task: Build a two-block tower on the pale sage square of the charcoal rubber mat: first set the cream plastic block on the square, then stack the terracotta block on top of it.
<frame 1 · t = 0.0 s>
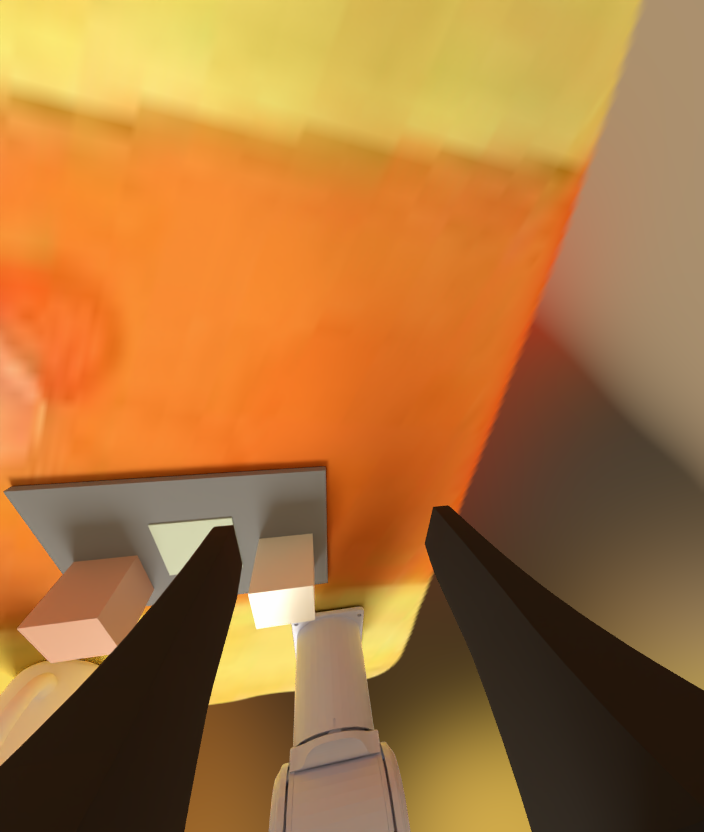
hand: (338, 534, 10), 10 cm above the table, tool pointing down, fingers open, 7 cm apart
mug: (68, 665, 27), on the table
terracotta block: (116, 576, 22), resting on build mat
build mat: (202, 541, 22), on the table
cream block: (288, 553, 24), resting on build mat
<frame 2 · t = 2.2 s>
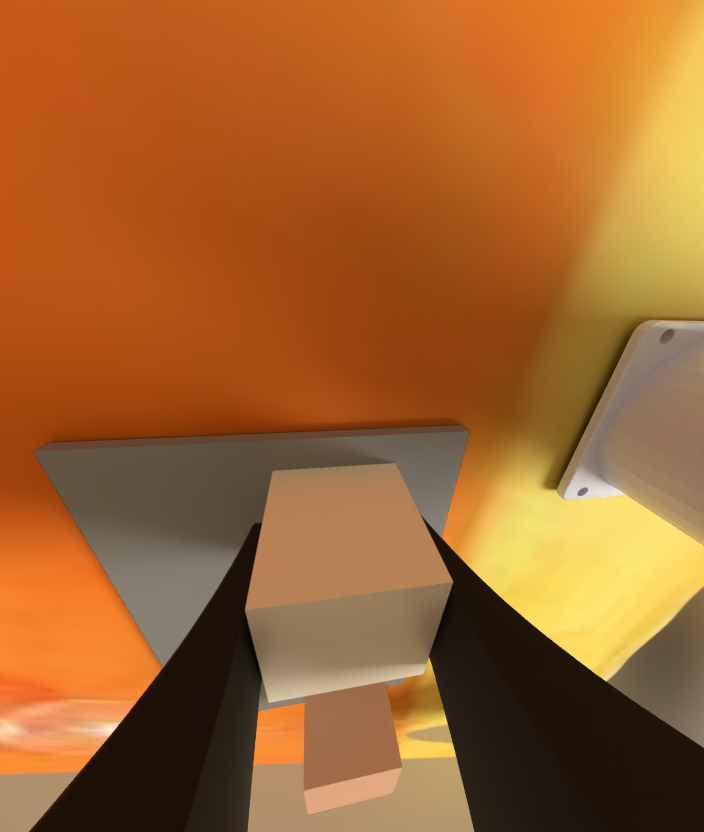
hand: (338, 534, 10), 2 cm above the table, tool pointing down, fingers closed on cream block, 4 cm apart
terracotta block: (342, 671, 17), resting on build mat
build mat: (296, 605, 14), on the table
cream block: (335, 511, 11), resting on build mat, touching gripper
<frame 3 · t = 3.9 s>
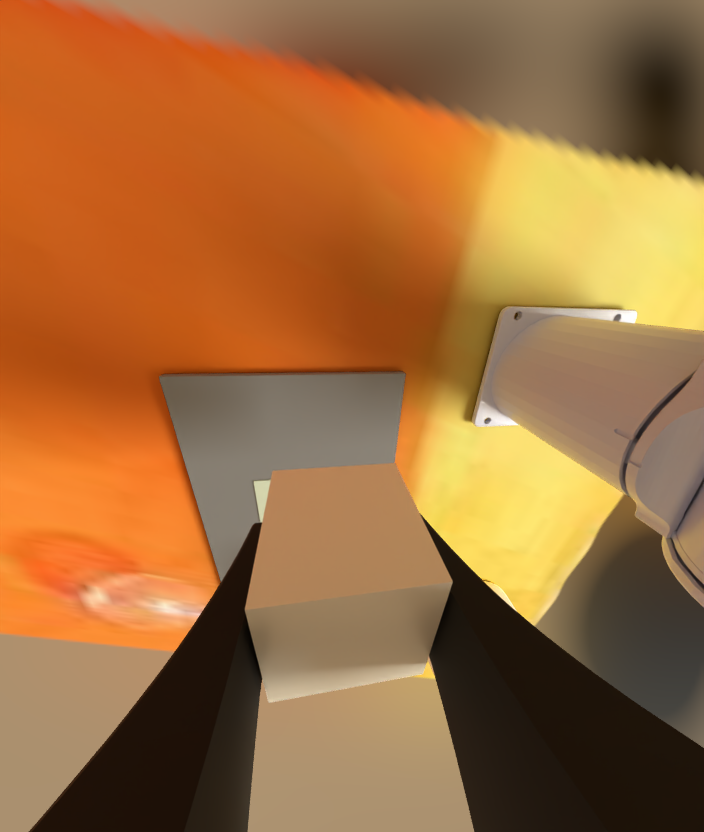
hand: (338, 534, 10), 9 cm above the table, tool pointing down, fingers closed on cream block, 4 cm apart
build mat: (300, 504, 20), on the table
cream block: (335, 511, 11), point 8 cm above the table, touching gripper
when the fingers open (3 cm above the table, at t = 6.1 s): cream block drops 1 cm, resting on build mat.
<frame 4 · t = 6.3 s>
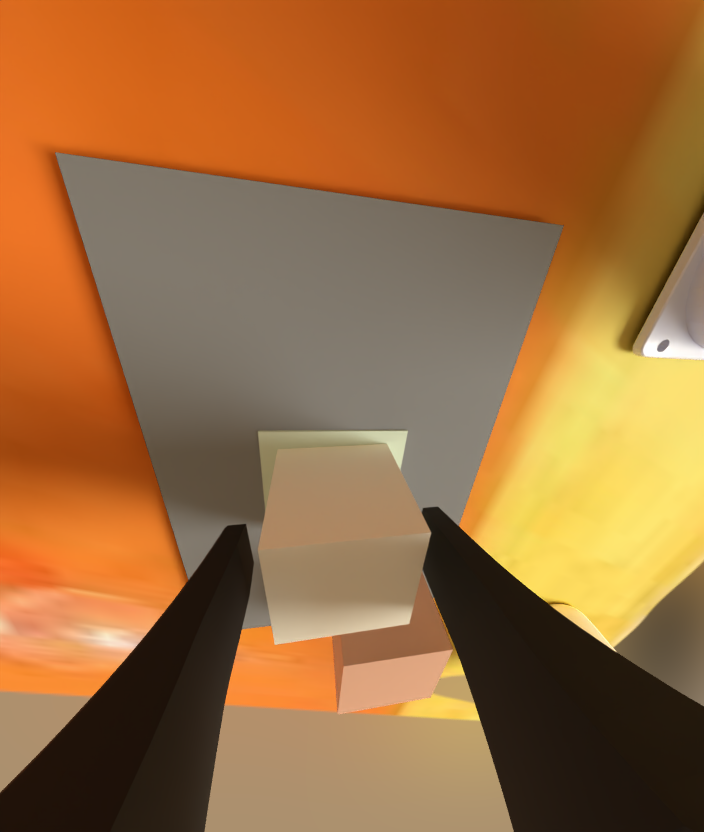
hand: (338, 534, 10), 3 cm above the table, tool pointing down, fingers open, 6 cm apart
mug: (516, 624, 22), on the table
terracotta block: (370, 579, 15), resting on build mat
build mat: (332, 480, 12), on the table
cream block: (333, 488, 12), point 1 cm above the table, touching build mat
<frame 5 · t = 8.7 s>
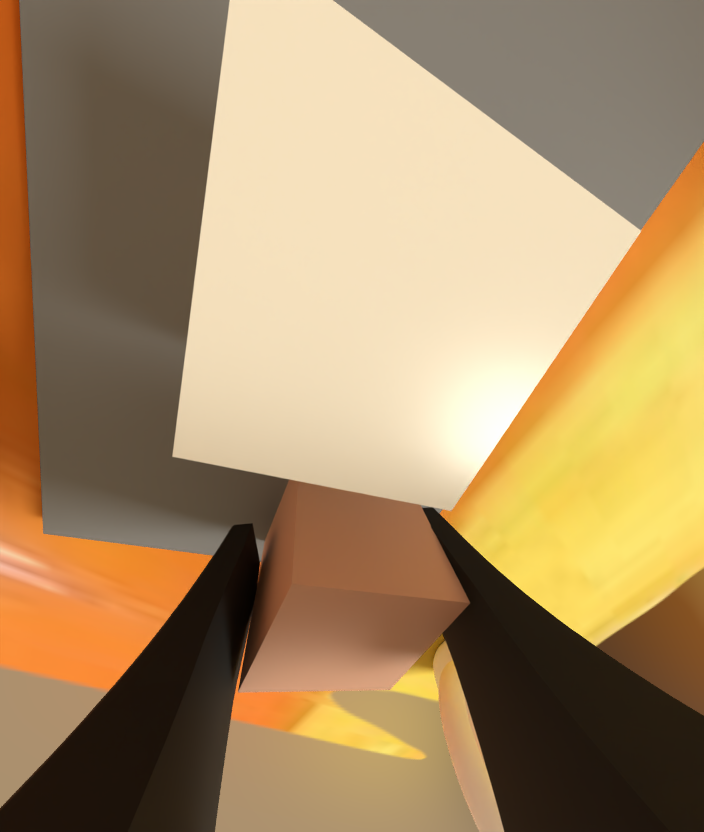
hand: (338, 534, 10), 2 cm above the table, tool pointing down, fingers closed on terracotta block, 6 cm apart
mug: (467, 635, 19), on the table
terracotta block: (335, 511, 11), resting on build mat, touching gripper
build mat: (342, 314, 8), on the table
cream block: (346, 315, 7), point 1 cm above the table, touching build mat
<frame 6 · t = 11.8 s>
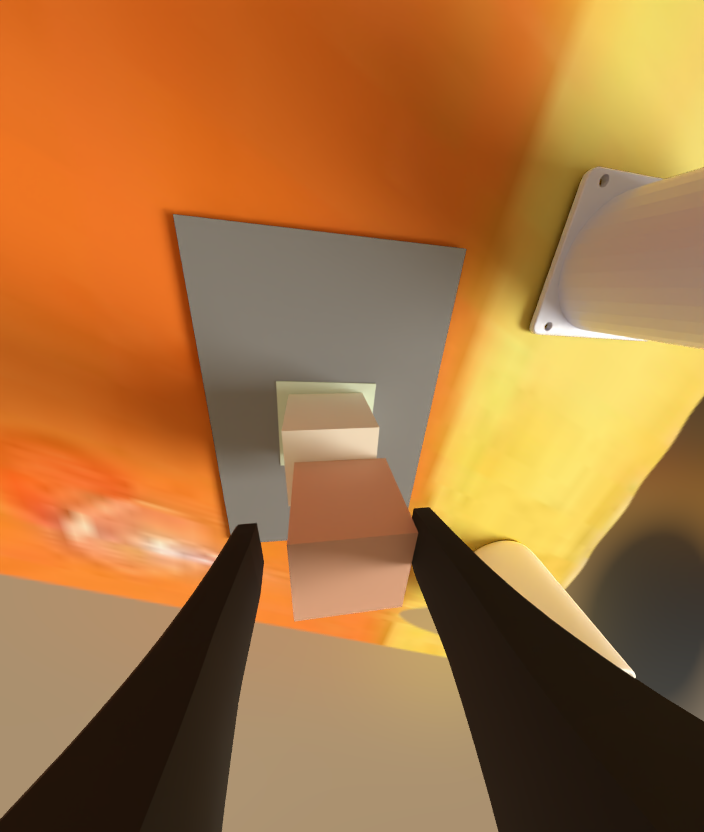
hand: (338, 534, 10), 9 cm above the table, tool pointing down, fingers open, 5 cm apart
mug: (477, 560, 28), on the table
terracotta block: (339, 495, 14), point 5 cm above the table, touching cream block
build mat: (325, 422, 18), on the table
cream block: (326, 426, 17), point 1 cm above the table, touching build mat, terracotta block
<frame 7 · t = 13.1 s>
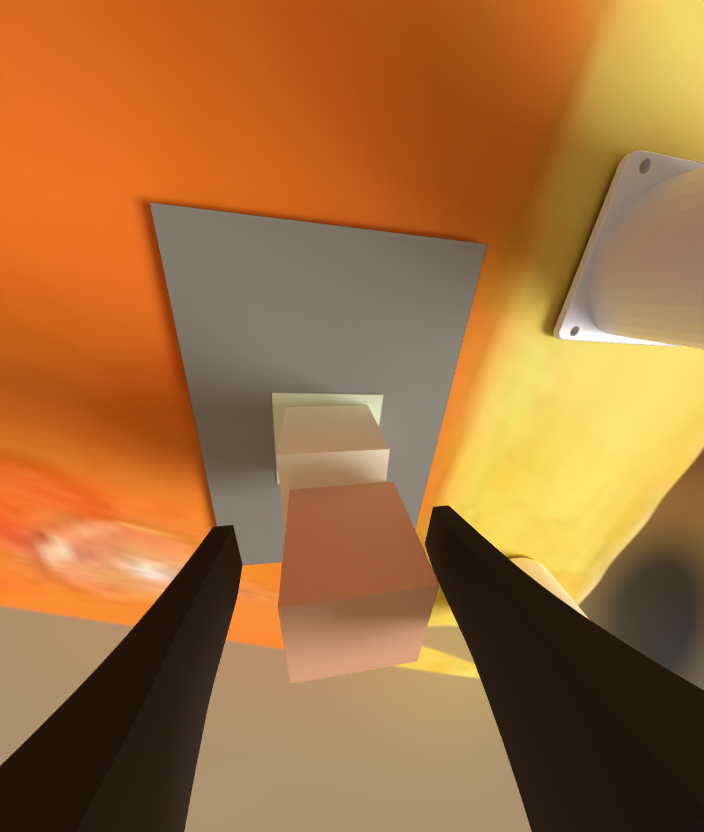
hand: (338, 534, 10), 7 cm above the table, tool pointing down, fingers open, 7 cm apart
mug: (487, 577, 26), on the table
terracotta block: (342, 523, 12), point 5 cm above the table, touching cream block
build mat: (326, 436, 16), on the table
cream block: (328, 441, 15), point 1 cm above the table, touching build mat, terracotta block
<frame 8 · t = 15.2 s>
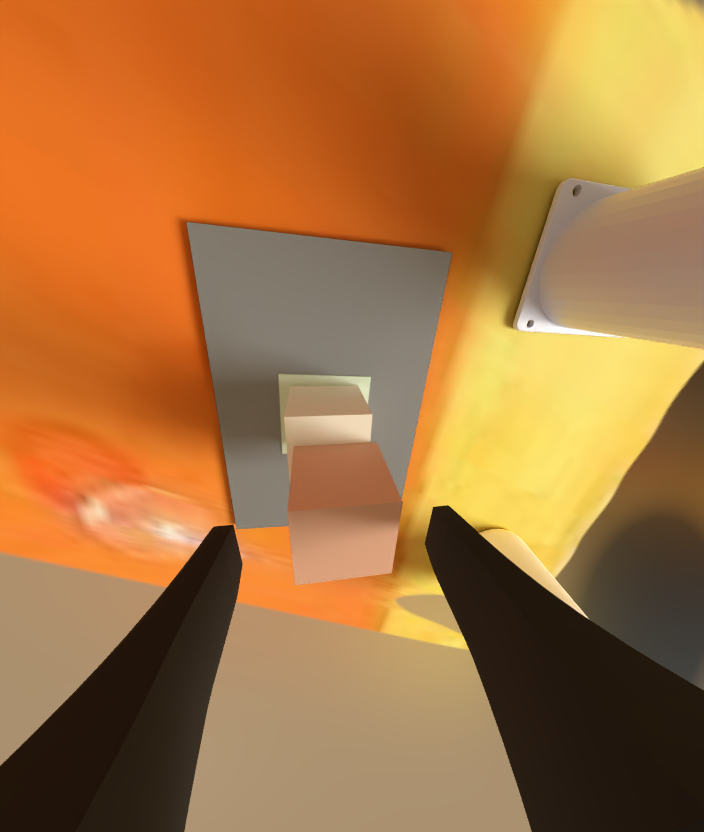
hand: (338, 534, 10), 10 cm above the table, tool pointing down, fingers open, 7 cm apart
mug: (469, 548, 29), on the table
terracotta block: (336, 477, 15), point 5 cm above the table, touching cream block
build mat: (324, 413, 19), on the table
cream block: (325, 416, 18), point 1 cm above the table, touching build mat, terracotta block
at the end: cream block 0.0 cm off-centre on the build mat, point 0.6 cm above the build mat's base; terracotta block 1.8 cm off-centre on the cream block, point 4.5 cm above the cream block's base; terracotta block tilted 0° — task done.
